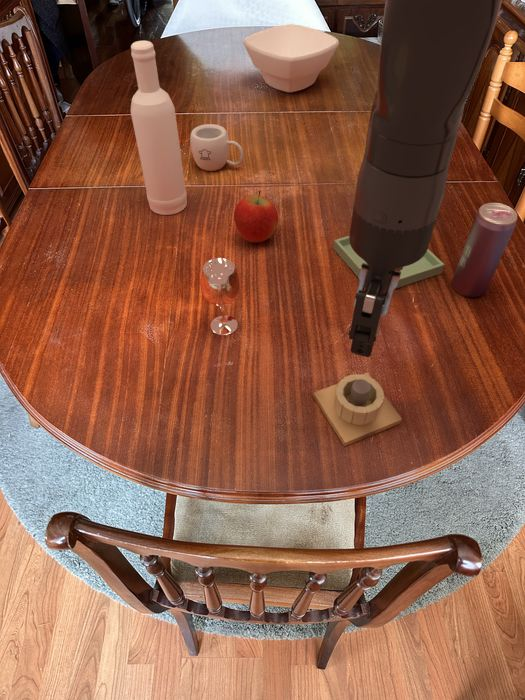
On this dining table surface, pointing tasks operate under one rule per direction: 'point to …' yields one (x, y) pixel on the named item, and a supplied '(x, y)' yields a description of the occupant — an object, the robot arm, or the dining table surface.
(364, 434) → the peg stand
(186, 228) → the dining table surface
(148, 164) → the bottle
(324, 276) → the dining table surface
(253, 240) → the apple
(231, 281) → the wineglass
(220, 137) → the mug
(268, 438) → the dining table surface
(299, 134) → the dining table surface
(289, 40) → the bowl
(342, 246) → the tray
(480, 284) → the beverage can
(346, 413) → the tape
